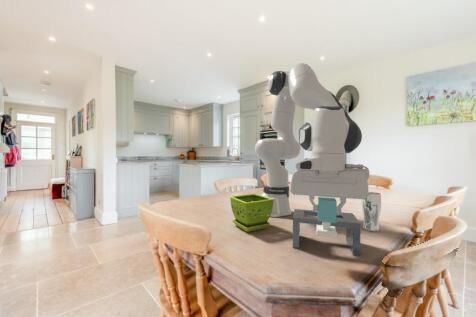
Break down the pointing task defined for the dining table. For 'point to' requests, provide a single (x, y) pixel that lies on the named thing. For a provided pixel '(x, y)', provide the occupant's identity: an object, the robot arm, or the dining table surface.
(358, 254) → the keyhole bracket
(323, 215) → the peg
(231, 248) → the dining table surface
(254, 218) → the flower pot
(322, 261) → the dining table surface
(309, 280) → the dining table surface
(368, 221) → the beer glass
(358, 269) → the dining table surface
